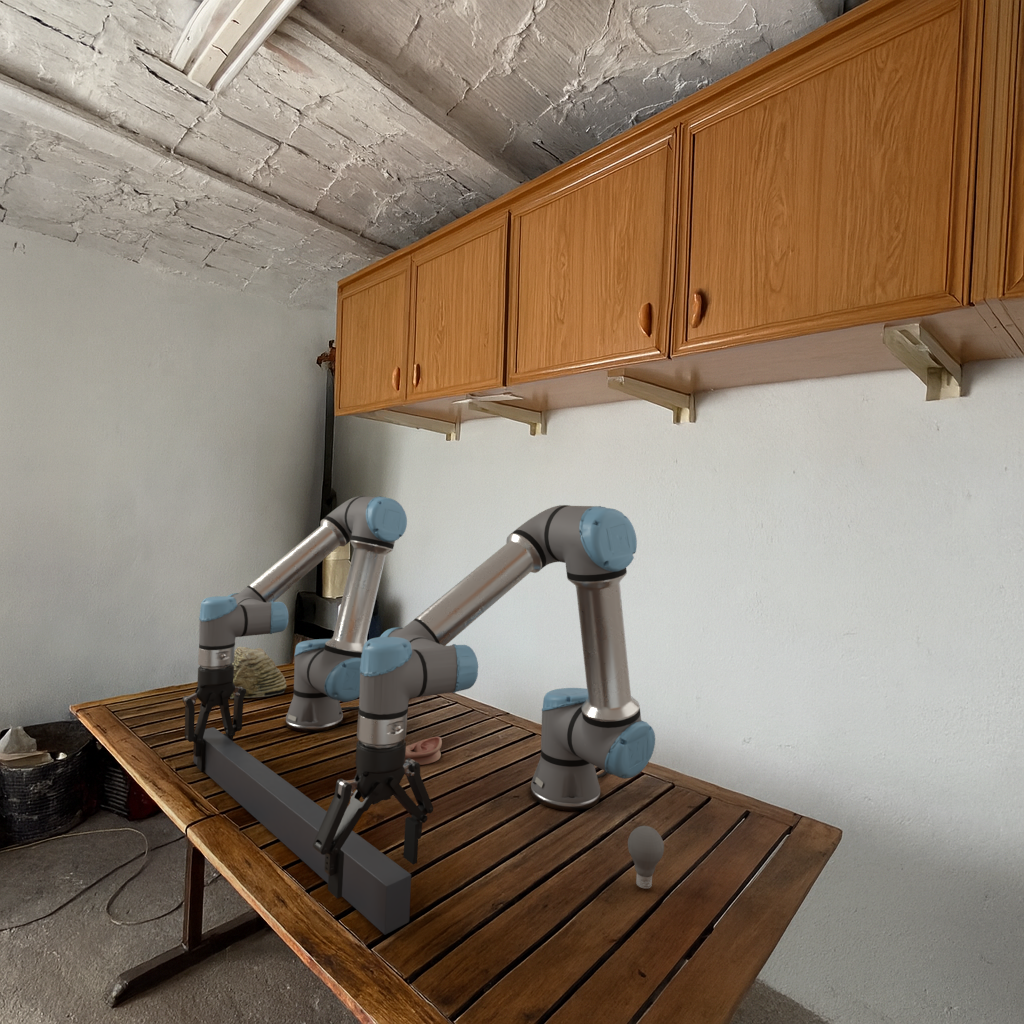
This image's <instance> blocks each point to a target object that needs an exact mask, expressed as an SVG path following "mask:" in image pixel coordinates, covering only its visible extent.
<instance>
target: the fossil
mask: <svg viewBox="0 0 1024 1024" xmlns="http://www.w3.org/2000/svg"><path fill="white" fill-rule="evenodd" d="M232 664H233V665H234V680H233V683H234V685H235V687H239V686H241V687H243V688H244V689H246V694H245V696H244V699H250V698H264V697H271V696H275V695H281V694H284V693H285V691H286V689H287V687H288V686H287V680H286V678H285V676H284V674H283V673H282V672H281V669H279V668H278V667H277V665H276V663H275V662H274V660H273V659H272V658H271V657H270V656H269V655H268V654H267V653H266V652H265V650H264V649H263V648H260V647H258V648H251V647H247V646H246V647H245V646H238V647H237V648H235V654H234V662H233V663H232ZM229 699H234V692H233V693H232V695H231V696H230V697H229Z"/></svg>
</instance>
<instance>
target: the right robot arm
mask: <svg viewBox="0 0 1024 1024" xmlns="http://www.w3.org/2000/svg"><path fill="white" fill-rule="evenodd" d="M634 527H635V526H634V525H633V523H632V522H631V520H630V519H629V517H628V516H626V515H625V514H624V513H623V512H622V511H620V510H617V509H615V508H610V507H606V506H601V505H599V506H598V505H570V504H569V505H568V504H559V505H555V506H551V507H549V508H546V509H545V510H543V511H541V512H539V513H538V514H535V515H534V516H532V517H531V518H529V519H528V520H527V521H525V522H523V523H522V524H521V525H520V526H518V527H517V528H516V529H515V530H513V531H511V533H510V534H508V535H507V537H506V543H505V544H504V545H503V546H502V547H500V548H499V549H498V550H497V551H496V552H494V553H493V554H492V555H491V556H490V557H488V558H487V559H485V561H483V562H482V563H480V565H479V566H476V568H475V569H474V570H473V571H471V572H470V573H469V574H467V575H466V576H465V577H464V578H463V579H461V580H460V581H459V582H457V584H455V585H454V586H452V587H451V588H450V589H449V590H448V591H447V592H446V593H444V594H443V595H441V597H439V598H438V599H437V600H436V601H435V602H433V603H432V604H431V605H430V606H428V607H427V608H426V609H424V611H423V612H421V613H419V614H418V616H416V617H415V618H414V619H413V620H411V621H410V622H409V623H407V624H406V625H405V626H404V627H391V628H388V629H387V630H385V631H383V633H381V635H380V636H378V637H373V638H370V639H368V640H366V643H365V644H364V646H363V650H362V656H361V665H360V695H359V697H358V700H359V701H358V704H359V705H358V706H359V709H358V711H357V725H356V727H357V728H356V738H357V740H358V741H357V742H356V745H355V746H356V748H355V767H356V772H355V776H354V777H353V779H348V780H345V779H343V778H338V779H337V780H336V783H335V790H334V795H333V797H332V800H331V802H330V803H329V806H328V809H327V810H326V811H327V813H326V815H325V818H324V820H323V822H322V824H321V827H320V829H319V831H318V833H317V836H316V838H315V840H314V842H313V847H314V848H315V849H316V850H317V851H319V852H320V853H321V854H322V855H325V866H324V869H325V872H326V873H327V874H328V875H329V877H328V883H327V891H328V892H330V894H331V895H332V896H334V897H335V898H336V899H340V898H343V897H342V884H343V865H344V852H343V851H342V850H341V847H342V846H343V844H344V843H345V841H346V840H347V838H348V836H349V835H350V833H351V832H352V831H353V830H354V828H355V827H356V825H357V824H358V822H359V820H360V819H361V817H362V816H363V814H364V813H365V812H367V811H368V810H369V809H370V807H371V806H372V805H377V804H380V803H381V802H382V801H388V800H391V799H392V797H393V798H395V800H397V801H398V803H399V804H400V805H401V806H402V808H404V810H405V811H406V812H407V813H408V815H409V816H407V817H405V819H404V820H405V821H404V840H403V841H404V842H403V855H402V856H403V859H405V860H406V861H407V862H408V863H411V864H412V865H415V864H418V853H419V840H420V839H421V838H422V835H423V834H422V832H423V824H425V823H426V822H427V821H428V815H427V814H429V815H430V814H432V813H433V812H434V805H433V803H432V801H431V798H430V796H429V794H428V793H429V792H428V790H427V788H426V786H425V783H424V780H423V778H422V775H421V765H420V764H419V763H418V762H416V761H414V760H412V759H410V758H408V759H406V761H405V753H406V746H407V742H406V740H405V739H406V737H407V731H408V714H409V713H408V711H409V702H410V699H416V698H422V697H429V696H437V695H443V694H455V693H457V692H461V691H466V690H469V689H471V688H472V687H473V686H474V685H475V683H476V681H477V680H478V675H479V661H478V658H477V655H476V653H475V651H474V650H473V648H471V647H470V646H469V645H468V644H456V643H453V644H451V645H448V644H450V643H451V641H452V640H454V639H455V638H456V637H457V636H458V635H459V634H461V633H462V632H463V631H464V630H466V628H468V627H469V626H470V625H471V624H472V623H473V622H475V621H476V620H477V619H478V618H479V617H480V616H482V614H484V613H485V612H486V611H487V610H488V609H490V608H491V607H492V606H493V605H494V604H496V603H497V602H498V601H499V600H500V599H501V598H502V597H504V596H505V595H506V594H507V593H508V592H510V590H512V589H513V588H514V587H515V586H517V584H519V583H520V582H522V580H524V578H525V577H527V576H528V575H529V574H531V573H534V574H537V573H539V572H540V571H541V570H542V569H543V568H545V567H546V566H548V565H550V564H554V563H564V564H565V571H566V579H567V581H569V582H570V583H571V584H573V585H575V592H576V600H577V610H578V618H579V629H580V637H581V647H582V655H583V664H584V672H585V674H584V675H585V683H586V688H584V687H562V688H556V689H551V690H549V691H547V692H546V693H545V695H544V696H543V702H542V708H541V734H540V735H541V738H540V758H539V761H538V764H537V765H536V767H535V768H536V769H535V771H534V774H533V777H532V779H531V783H530V795H531V797H532V799H534V801H536V802H537V803H538V804H540V805H543V806H545V807H547V808H550V809H554V810H559V811H566V812H567V811H569V812H571V811H572V812H574V811H575V812H577V811H583V810H588V809H591V808H593V807H595V806H596V805H597V804H598V803H599V802H600V800H601V785H600V782H599V779H601V778H602V777H604V776H605V775H607V774H608V775H611V776H615V777H618V778H620V779H625V780H626V779H627V780H628V779H632V778H634V777H636V776H637V775H639V774H640V773H641V772H642V771H643V770H645V768H646V767H647V765H649V762H650V760H651V758H652V756H653V754H654V751H655V747H656V746H655V745H656V734H655V730H654V728H653V726H651V725H650V724H649V723H648V722H647V721H644V720H642V716H641V706H640V702H639V700H638V699H636V698H635V697H634V696H632V693H631V692H632V691H631V683H630V672H629V671H630V670H629V664H628V663H629V662H628V653H627V652H628V651H627V643H626V632H625V631H626V630H625V621H624V611H623V601H622V591H621V581H622V580H623V579H624V578H625V577H626V576H627V574H628V571H627V568H628V567H629V566H630V565H631V563H632V561H634V559H635V558H634V554H636V553H637V544H638V540H637V534H636V530H635V528H634ZM596 767H597V768H599V769H600V770H602V771H603V772H602V773H600V774H597V771H596ZM404 776H406V779H407V782H408V784H409V787H410V789H411V791H412V793H413V796H414V798H415V801H413V799H412V798H411V797H410V796H409V794H408V793H407V791H406V790H405V788H403V786H402V785H401V782H402V780H403V778H404ZM361 798H362V799H363V801H361V800H360V799H361ZM416 803H417V804H416ZM334 842H335V843H334Z"/></svg>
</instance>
